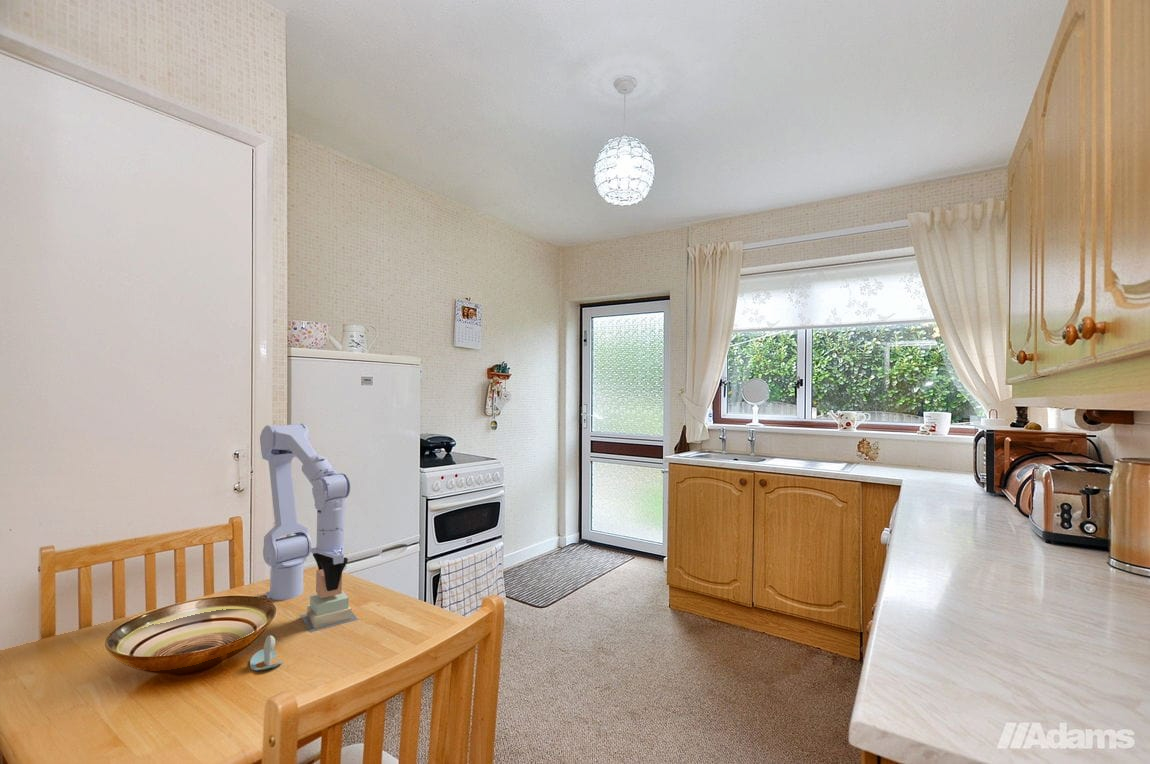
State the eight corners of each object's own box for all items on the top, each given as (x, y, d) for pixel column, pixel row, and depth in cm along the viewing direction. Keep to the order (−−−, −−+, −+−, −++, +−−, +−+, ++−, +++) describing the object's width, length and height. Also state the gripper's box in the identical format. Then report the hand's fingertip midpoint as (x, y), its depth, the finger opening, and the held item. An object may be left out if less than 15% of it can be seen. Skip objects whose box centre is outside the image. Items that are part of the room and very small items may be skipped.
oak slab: (306, 615, 119) (307, 605, 119) (341, 607, 124) (341, 597, 124) (314, 628, 113) (315, 617, 113) (351, 618, 118) (351, 608, 118)
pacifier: (248, 686, 94) (284, 672, 98) (248, 652, 94) (284, 639, 98) (238, 669, 99) (273, 657, 103) (238, 637, 99) (273, 626, 103)
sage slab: (310, 605, 119) (310, 595, 119) (340, 598, 123) (340, 588, 123) (317, 616, 114) (317, 605, 114) (348, 608, 118) (348, 597, 118)
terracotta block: (316, 591, 118) (316, 570, 118) (336, 587, 121) (336, 566, 121) (320, 598, 115) (321, 576, 115) (341, 593, 118) (341, 571, 118)
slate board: (299, 619, 119) (300, 615, 119) (345, 608, 125) (345, 604, 125) (310, 636, 111) (310, 632, 111) (358, 623, 117) (358, 619, 117)
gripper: (304, 523, 121) (303, 580, 121) (319, 538, 110) (318, 601, 110) (336, 518, 126) (335, 573, 126) (353, 532, 114) (352, 593, 114)
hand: (329, 586), depth 118 cm, fingers closed on terracotta block, 4 cm apart
